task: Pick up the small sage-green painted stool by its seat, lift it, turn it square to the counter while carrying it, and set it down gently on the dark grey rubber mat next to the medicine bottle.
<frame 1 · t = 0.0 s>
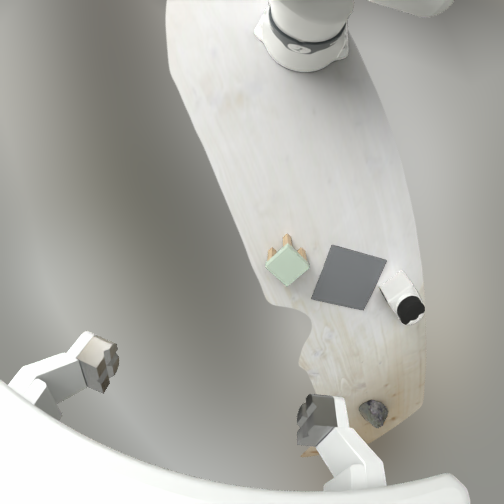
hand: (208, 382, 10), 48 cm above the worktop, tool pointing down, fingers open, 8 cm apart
mat: (349, 279, 61), on the worktop
stool: (286, 250, 59), on the worktop
mineral rock: (373, 407, 81), on the worktop
medicine bottle: (395, 286, 61), on the worktop
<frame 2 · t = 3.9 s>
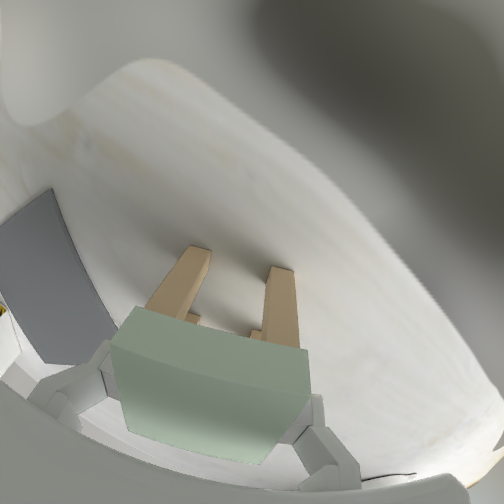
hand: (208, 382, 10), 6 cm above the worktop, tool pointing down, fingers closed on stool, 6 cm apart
mat: (42, 298, 18), on the worktop
stool: (231, 301, 15), on the worktop, touching gripper
when the fingers open (7 cm above the worktop, at t = 8.8 s): stool stays where it is, resting on mat.
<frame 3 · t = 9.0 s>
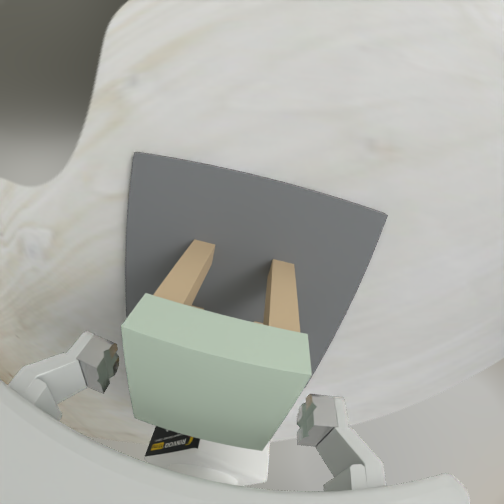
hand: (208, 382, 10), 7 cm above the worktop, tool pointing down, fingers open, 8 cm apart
mat: (233, 291, 17), on the worktop
stool: (234, 294, 16), resting on mat
medicine bottle: (218, 406, 22), on the worktop
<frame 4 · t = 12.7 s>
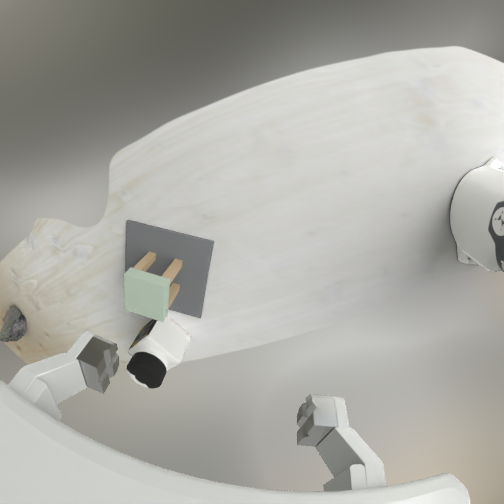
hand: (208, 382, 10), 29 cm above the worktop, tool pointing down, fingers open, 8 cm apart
mat: (164, 270, 42), on the worktop
stool: (164, 271, 42), resting on mat
mineral rock: (18, 320, 55), on the worktop
medicine bottle: (166, 331, 48), on the worktop
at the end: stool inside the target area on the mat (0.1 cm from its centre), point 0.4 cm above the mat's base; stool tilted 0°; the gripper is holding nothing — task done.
